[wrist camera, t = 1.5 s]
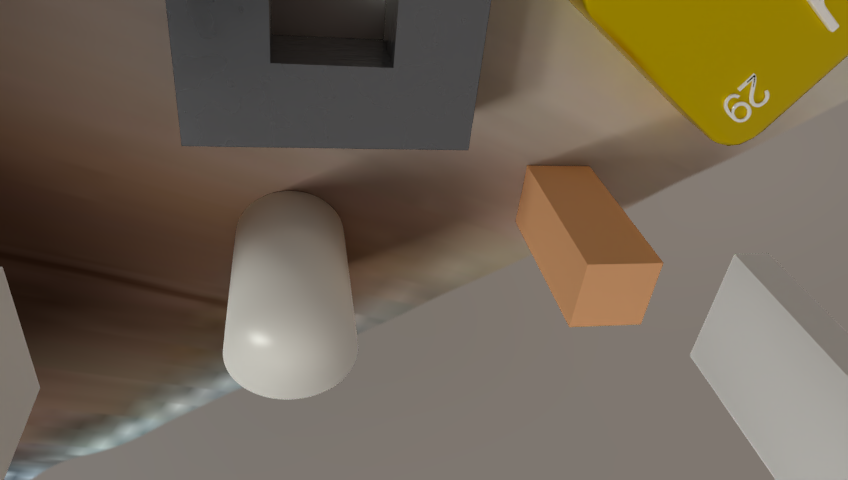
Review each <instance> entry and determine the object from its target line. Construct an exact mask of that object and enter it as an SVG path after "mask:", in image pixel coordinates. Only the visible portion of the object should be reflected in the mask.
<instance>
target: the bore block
mask: <svg viewBox="0 0 848 480" xmlns="http://www.w3.org/2000/svg"><path fill="white" fill-rule="evenodd" d="M490 5H491V0H386V8H385V23H384V38H383V40H373V39H351V38H330V37H308V36H286V35H272V24H271V0H166V9H167V18H168V27H169V36H170V45H171V54H172V63H173V72H174V81H175V90H176V99H177V108H178V117H179V126H180V135H181V144H182V146H218V147H286V148H354V149H422V150H468V149H469V142H470V136H471V129H472V123H473V116H474V110H475V103H476V96H477V90H478V83H479V77H480V70H481V64H482V57H483V51H484V44H485V38H486V31H487V24H488V18H489V11H490Z"/></svg>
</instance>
